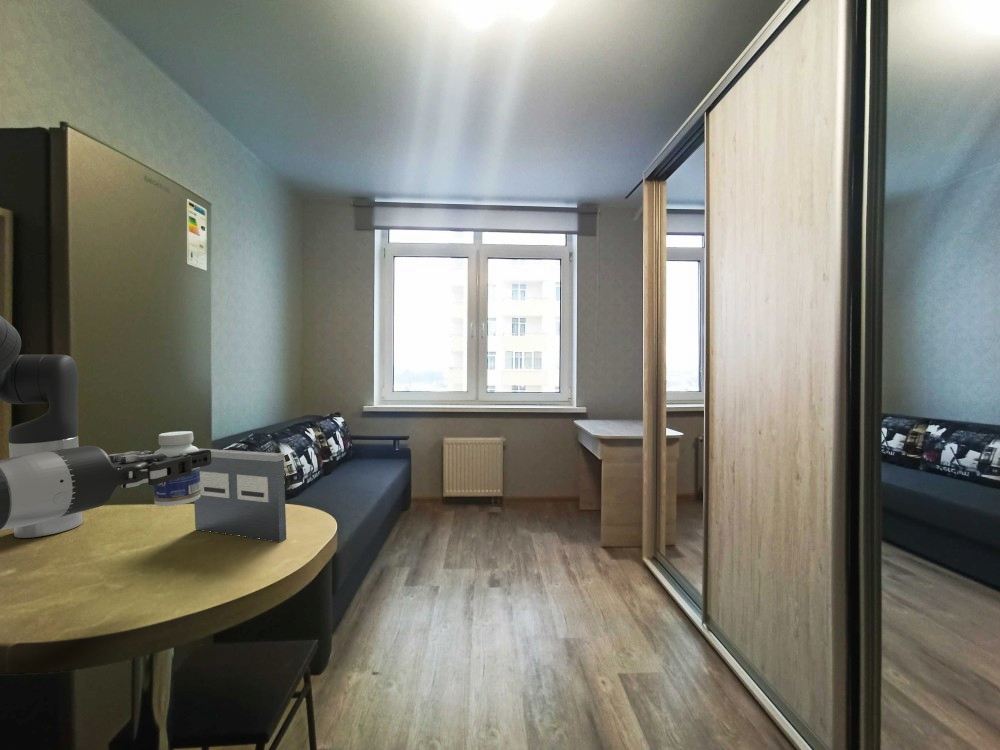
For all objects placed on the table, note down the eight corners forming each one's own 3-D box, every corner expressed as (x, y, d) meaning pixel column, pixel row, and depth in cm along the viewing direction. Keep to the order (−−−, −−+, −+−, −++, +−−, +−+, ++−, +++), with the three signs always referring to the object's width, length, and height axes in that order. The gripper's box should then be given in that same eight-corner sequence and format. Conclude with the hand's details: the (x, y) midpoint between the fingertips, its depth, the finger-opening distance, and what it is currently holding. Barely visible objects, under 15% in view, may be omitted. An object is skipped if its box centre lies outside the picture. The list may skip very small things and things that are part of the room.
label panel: (194, 530, 83) (190, 450, 83) (203, 526, 85) (200, 448, 85) (278, 542, 77) (275, 456, 76) (287, 538, 79) (284, 453, 78)
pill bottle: (150, 502, 64) (148, 433, 63) (195, 493, 68) (193, 429, 67) (158, 510, 60) (156, 437, 60) (205, 500, 64) (203, 432, 64)
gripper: (88, 455, 48) (230, 431, 64) (8, 449, 52) (159, 428, 68) (90, 525, 48) (232, 484, 64) (11, 512, 53) (161, 477, 69)
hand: (194, 455), depth 66 cm, fingers closed on pill bottle, 5 cm apart
